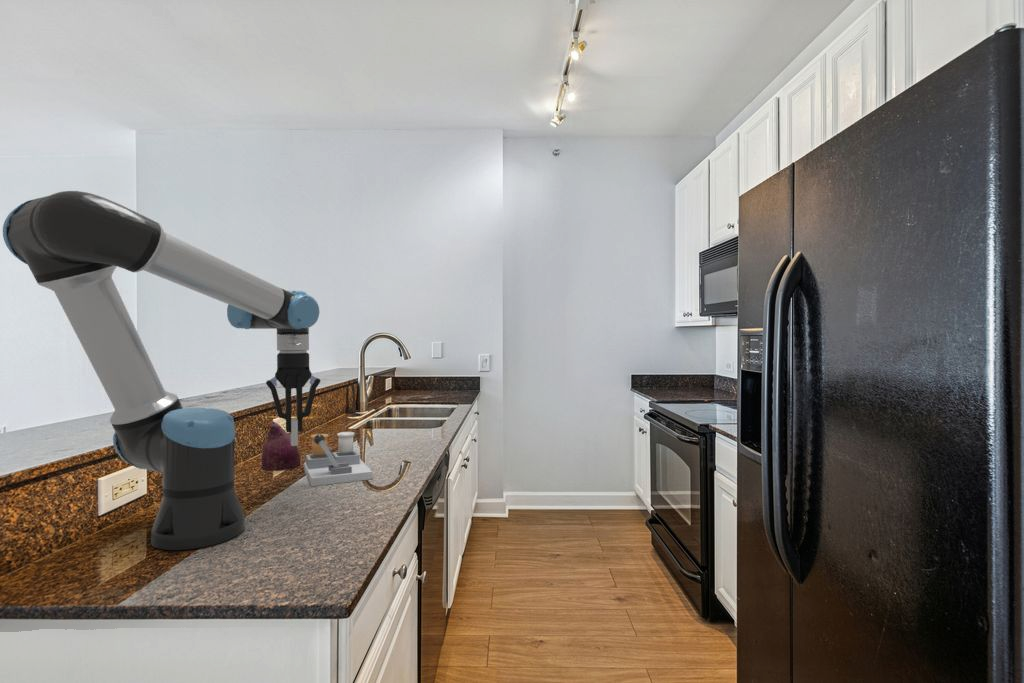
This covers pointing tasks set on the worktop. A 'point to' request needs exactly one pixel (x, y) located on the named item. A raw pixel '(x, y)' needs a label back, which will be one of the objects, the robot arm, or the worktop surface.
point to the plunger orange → (318, 445)
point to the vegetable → (279, 450)
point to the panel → (336, 469)
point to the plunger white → (345, 441)
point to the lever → (326, 449)
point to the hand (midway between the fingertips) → (294, 444)
